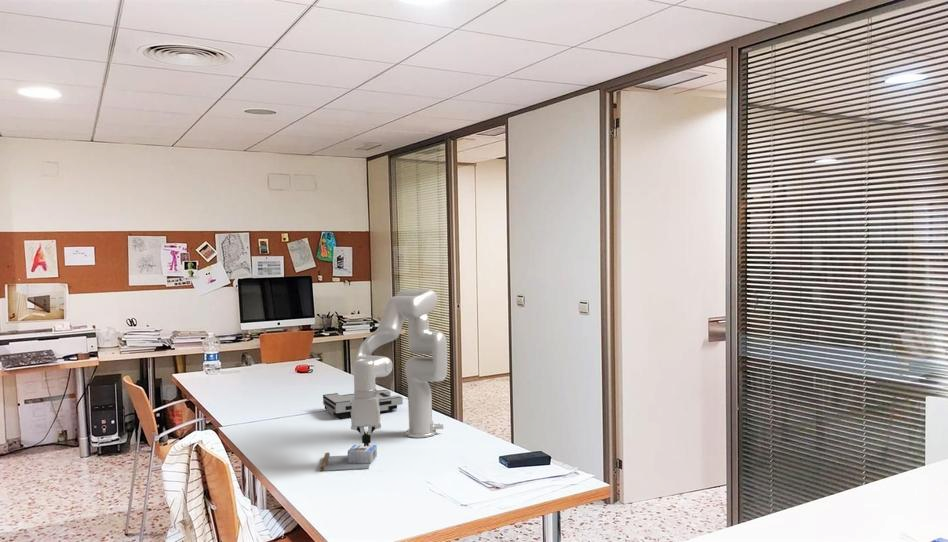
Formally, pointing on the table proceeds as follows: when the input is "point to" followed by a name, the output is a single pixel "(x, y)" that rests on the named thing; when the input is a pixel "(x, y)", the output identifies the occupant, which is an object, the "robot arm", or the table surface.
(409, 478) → the table surface
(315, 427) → the table surface
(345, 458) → the slate mat
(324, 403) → the game console
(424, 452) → the table surface
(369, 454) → the medicine box
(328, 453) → the walnut stop strip
